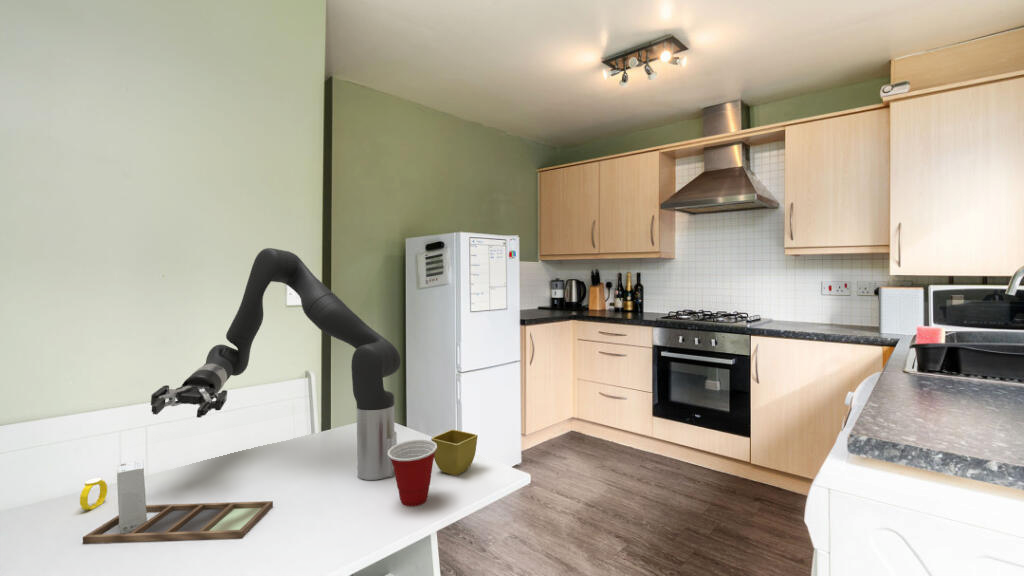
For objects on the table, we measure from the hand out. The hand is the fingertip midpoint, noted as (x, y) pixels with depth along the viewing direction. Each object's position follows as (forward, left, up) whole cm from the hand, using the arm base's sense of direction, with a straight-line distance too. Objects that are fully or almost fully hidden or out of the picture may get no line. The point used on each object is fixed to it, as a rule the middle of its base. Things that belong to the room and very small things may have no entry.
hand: (177, 412), depth 103 cm
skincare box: (+3, +9, -21) cm, 23 cm away
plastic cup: (-52, +2, -21) cm, 56 cm away
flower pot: (-60, -14, -21) cm, 65 cm away
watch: (+18, 0, -21) cm, 27 cm away
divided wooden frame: (-7, +9, -20) cm, 23 cm away
